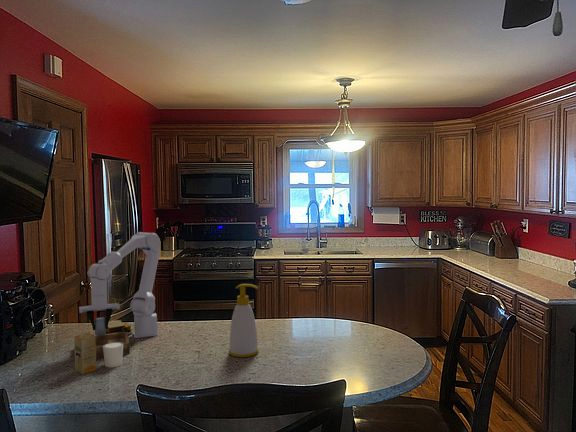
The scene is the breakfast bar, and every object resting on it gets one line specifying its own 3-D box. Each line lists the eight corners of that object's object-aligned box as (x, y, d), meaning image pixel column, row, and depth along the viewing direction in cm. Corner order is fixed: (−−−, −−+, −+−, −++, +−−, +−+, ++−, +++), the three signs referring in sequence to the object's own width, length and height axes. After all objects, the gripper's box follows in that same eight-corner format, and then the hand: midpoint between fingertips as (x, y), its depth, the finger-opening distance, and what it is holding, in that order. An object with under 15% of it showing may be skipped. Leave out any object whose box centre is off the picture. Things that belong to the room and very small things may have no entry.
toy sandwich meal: (105, 341, 189) (104, 329, 189) (99, 332, 201) (99, 322, 200) (136, 335, 196) (135, 324, 195) (128, 328, 207) (128, 317, 207)
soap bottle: (254, 359, 166) (253, 287, 165) (224, 357, 168) (223, 286, 167) (262, 348, 177) (261, 281, 176) (234, 346, 179) (233, 280, 178)
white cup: (98, 366, 161) (98, 346, 161) (114, 359, 167) (114, 340, 167) (112, 369, 158) (112, 349, 157) (128, 362, 164) (127, 343, 163)
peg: (105, 332, 182) (105, 317, 181) (106, 334, 178) (105, 319, 178) (94, 333, 180) (94, 318, 180) (95, 336, 176) (94, 320, 176)
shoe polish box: (89, 366, 161) (88, 332, 160) (96, 369, 157) (95, 335, 157) (75, 370, 157) (74, 336, 156) (82, 374, 154) (81, 339, 153)
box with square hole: (127, 341, 188) (126, 331, 187) (129, 353, 173) (129, 343, 173) (79, 347, 181) (78, 337, 181) (77, 360, 166) (77, 350, 166)
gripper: (78, 298, 172) (79, 334, 172) (119, 294, 177) (120, 329, 178) (79, 294, 178) (80, 328, 179) (118, 291, 184) (119, 324, 184)
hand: (100, 328), depth 179 cm, fingers closed on peg, 4 cm apart
